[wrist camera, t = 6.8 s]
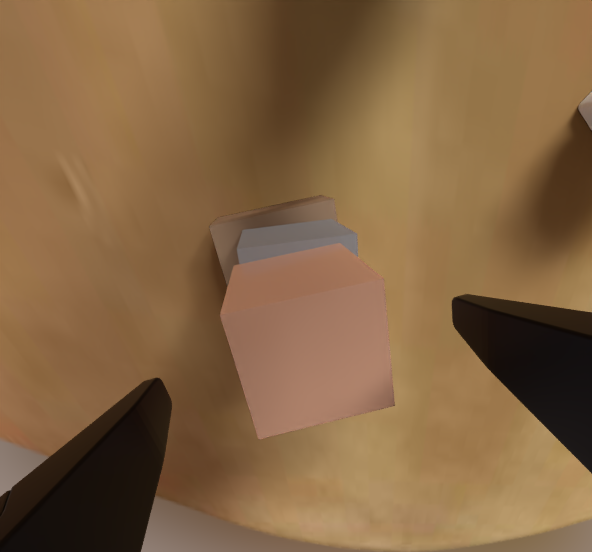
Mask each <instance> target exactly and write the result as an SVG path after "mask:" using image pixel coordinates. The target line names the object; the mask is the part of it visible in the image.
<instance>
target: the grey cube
mask: <svg viewBox="0 0 592 552" xmlns="http://www.w3.org/2000/svg"><path fill="white" fill-rule="evenodd" d="M337 243H341V244H342V245H343V246H344V247H346V248H347V249H348V250H349V251H351V252H352V253H353V254H354V255H356V256H357V257H358V244H357V233H355V232H353V231H352V230H350V229H348V228H346V227H345V226H343V225H341V224H340V223H338V222H336V221H334V220H333V219H327V220H319V221H311V222H303V223H295V224H286V225H278V226H270V227H262V228H254V229H246V230H242V234H241V237H240V240H239V243H238V247H237V254H238V259H239V264H243V263H248V262H253V261H257V260H262V259H267V258H271V257H276V256H281V255H285V254H290V253H295V252H299V251H304V250H309V249H313V248H318V247H323V246H327V245H332V244H337Z"/></svg>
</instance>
